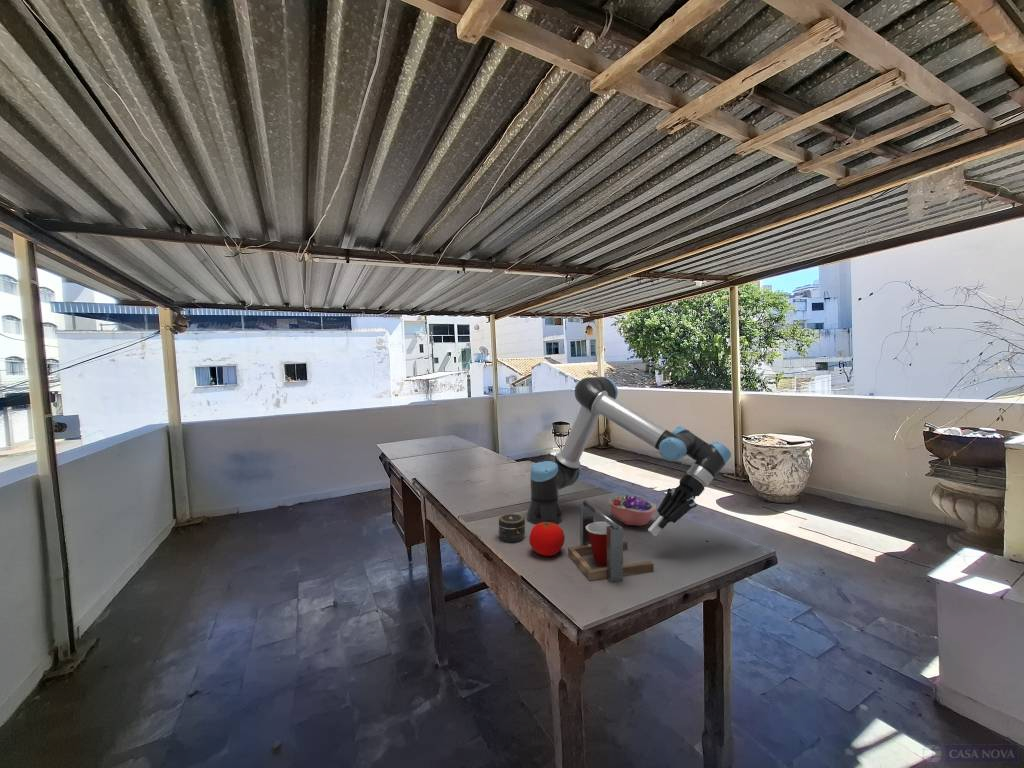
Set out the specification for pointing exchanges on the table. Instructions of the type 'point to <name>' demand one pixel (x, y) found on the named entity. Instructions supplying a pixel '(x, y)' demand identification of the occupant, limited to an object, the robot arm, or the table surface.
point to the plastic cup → (598, 541)
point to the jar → (511, 527)
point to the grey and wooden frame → (614, 549)
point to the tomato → (546, 538)
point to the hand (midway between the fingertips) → (651, 533)
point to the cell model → (632, 510)
